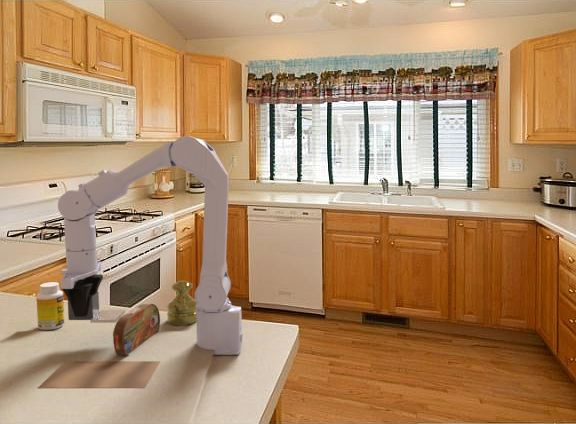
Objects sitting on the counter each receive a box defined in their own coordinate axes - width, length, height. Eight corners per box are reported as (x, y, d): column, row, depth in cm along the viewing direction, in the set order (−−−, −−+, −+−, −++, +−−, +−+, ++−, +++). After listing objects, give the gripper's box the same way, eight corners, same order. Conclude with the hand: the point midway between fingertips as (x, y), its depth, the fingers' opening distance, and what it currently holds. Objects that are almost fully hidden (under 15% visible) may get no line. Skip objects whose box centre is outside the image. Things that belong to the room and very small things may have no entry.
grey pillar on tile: (125, 312, 98) (124, 289, 97) (115, 322, 92) (114, 298, 91) (78, 312, 98) (77, 289, 97) (65, 322, 92) (64, 298, 91)
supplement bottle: (61, 330, 105) (58, 287, 104) (34, 331, 104) (32, 288, 103) (67, 321, 111) (65, 280, 109) (42, 323, 109) (39, 281, 108)
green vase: (200, 324, 110) (200, 283, 108) (168, 327, 107) (167, 286, 106) (195, 314, 116) (195, 276, 115) (165, 317, 114) (164, 278, 113)
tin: (125, 364, 88) (123, 322, 87) (110, 363, 89) (109, 321, 88) (162, 335, 103) (160, 299, 102) (149, 334, 103) (147, 298, 102)
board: (160, 367, 87) (160, 361, 87) (145, 394, 77) (144, 387, 77) (65, 367, 87) (65, 361, 86) (37, 394, 77) (37, 388, 77)
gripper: (77, 242, 100) (80, 301, 102) (43, 256, 86) (47, 325, 87) (109, 242, 100) (112, 301, 102) (80, 256, 86) (84, 325, 88)
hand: (84, 312), depth 95 cm, fingers closed on grey pillar on tile, 3 cm apart
